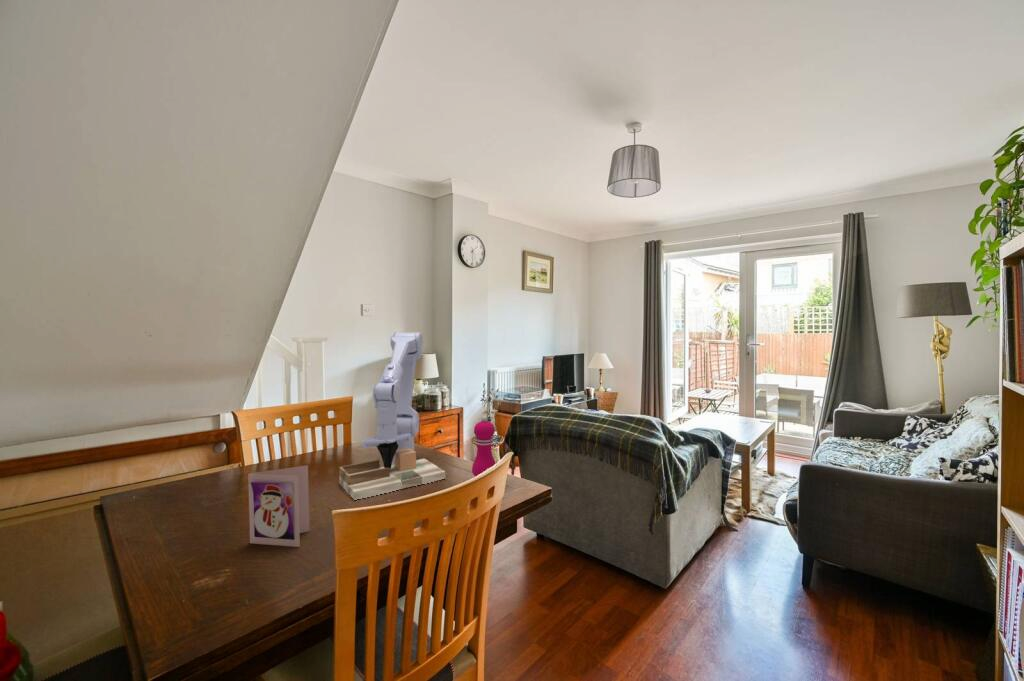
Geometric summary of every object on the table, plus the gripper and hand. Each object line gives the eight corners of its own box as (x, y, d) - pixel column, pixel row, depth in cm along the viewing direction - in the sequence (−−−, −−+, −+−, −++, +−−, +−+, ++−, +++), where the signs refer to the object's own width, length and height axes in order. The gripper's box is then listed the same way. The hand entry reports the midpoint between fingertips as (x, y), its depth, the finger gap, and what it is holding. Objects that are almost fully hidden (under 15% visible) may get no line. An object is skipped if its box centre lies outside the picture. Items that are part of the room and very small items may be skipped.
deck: (339, 483, 125) (339, 475, 125) (424, 466, 140) (424, 458, 140) (354, 501, 113) (354, 491, 113) (445, 479, 128) (445, 471, 128)
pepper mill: (498, 480, 128) (498, 413, 127) (495, 489, 121) (495, 418, 120) (474, 479, 128) (474, 413, 128) (469, 488, 121) (469, 418, 120)
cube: (394, 467, 132) (394, 450, 132) (409, 463, 135) (409, 448, 135) (400, 471, 128) (400, 455, 128) (416, 468, 131) (416, 452, 131)
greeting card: (247, 545, 91) (245, 475, 90) (271, 528, 98) (269, 463, 97) (297, 549, 89) (295, 477, 88) (317, 531, 96) (316, 465, 96)
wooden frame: (339, 475, 125) (339, 466, 125) (378, 467, 132) (378, 459, 132) (348, 485, 117) (348, 476, 117) (389, 476, 124) (389, 468, 124)
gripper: (366, 428, 120) (367, 476, 121) (415, 421, 129) (415, 466, 129) (359, 424, 126) (359, 469, 127) (406, 417, 134) (406, 460, 135)
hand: (387, 467), depth 128 cm, fingers closed
